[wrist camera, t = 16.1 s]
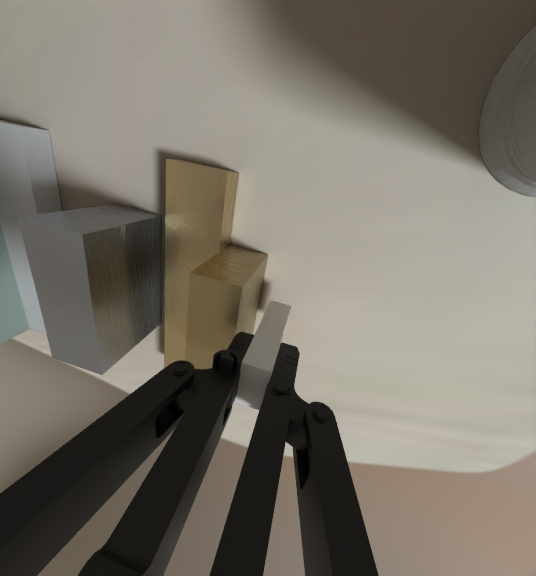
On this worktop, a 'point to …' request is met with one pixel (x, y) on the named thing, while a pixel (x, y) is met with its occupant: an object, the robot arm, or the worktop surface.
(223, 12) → the worktop surface
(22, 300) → the block
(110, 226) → the steel block
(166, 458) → the robot arm
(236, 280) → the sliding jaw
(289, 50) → the worktop surface
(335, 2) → the worktop surface
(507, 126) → the grey mug
